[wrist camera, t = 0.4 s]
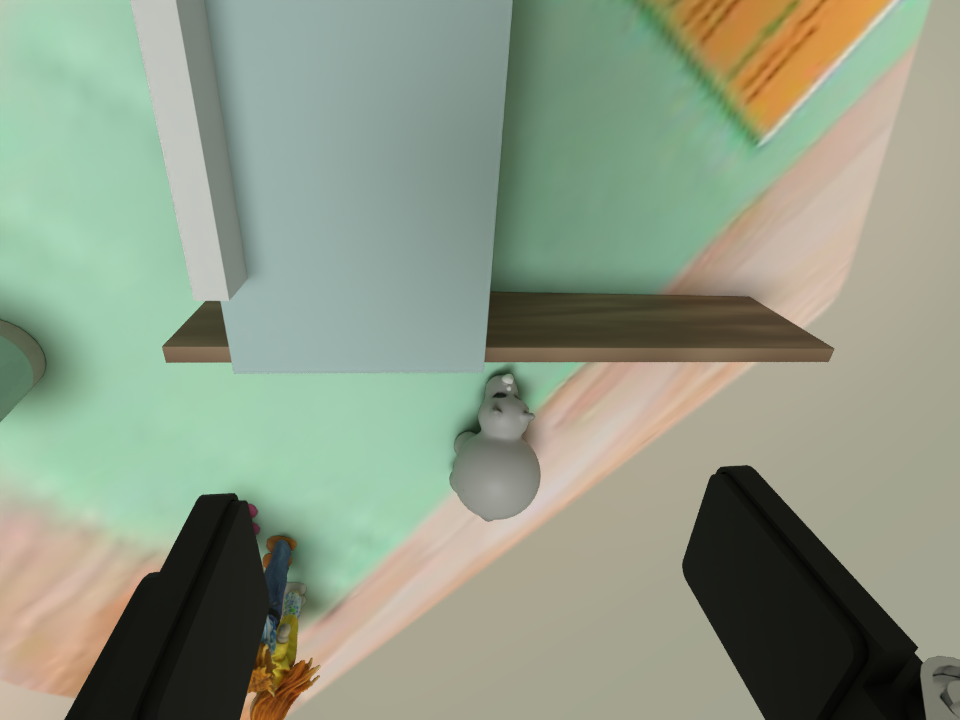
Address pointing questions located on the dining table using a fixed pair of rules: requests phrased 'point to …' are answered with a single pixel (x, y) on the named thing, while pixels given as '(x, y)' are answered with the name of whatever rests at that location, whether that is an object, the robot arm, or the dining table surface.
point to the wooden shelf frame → (589, 330)
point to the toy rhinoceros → (497, 456)
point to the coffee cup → (17, 366)
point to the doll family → (279, 637)
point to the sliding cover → (335, 173)
